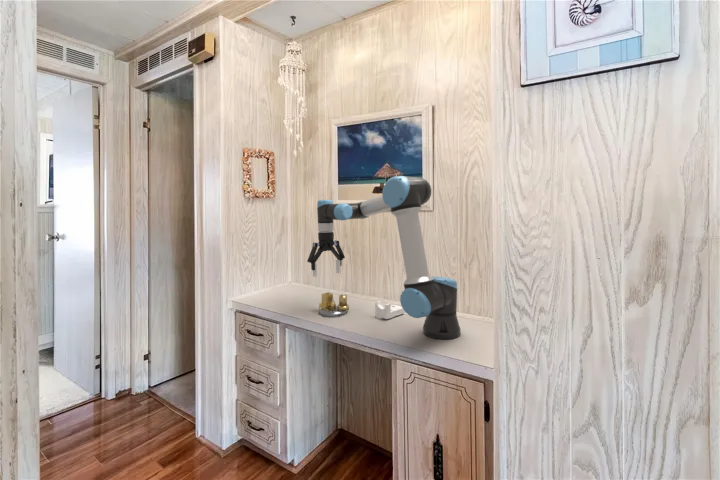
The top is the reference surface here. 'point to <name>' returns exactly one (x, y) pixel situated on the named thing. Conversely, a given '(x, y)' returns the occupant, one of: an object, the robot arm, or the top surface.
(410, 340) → the top surface
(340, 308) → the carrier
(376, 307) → the bracket
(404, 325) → the top surface
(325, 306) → the brass square sleeve
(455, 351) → the top surface
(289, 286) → the top surface
